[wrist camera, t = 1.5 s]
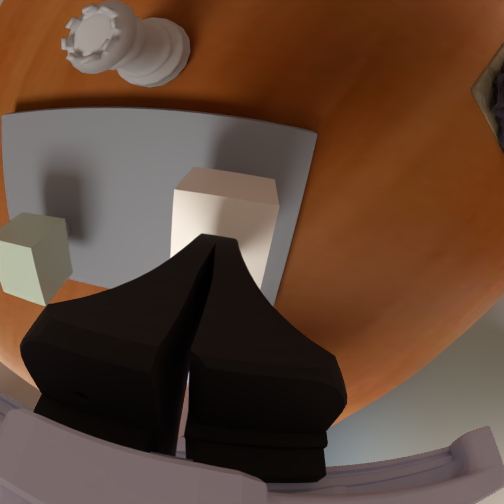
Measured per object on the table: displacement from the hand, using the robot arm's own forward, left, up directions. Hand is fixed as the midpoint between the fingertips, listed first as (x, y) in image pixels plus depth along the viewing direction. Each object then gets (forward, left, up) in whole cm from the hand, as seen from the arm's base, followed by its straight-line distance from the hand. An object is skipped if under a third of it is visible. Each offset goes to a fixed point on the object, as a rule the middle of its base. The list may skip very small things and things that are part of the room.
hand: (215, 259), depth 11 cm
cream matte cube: (0, 0, -5) cm, 5 cm away
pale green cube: (-4, +12, -5) cm, 14 cm away
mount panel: (-2, +7, -9) cm, 11 cm away
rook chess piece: (+8, +6, -9) cm, 13 cm away
